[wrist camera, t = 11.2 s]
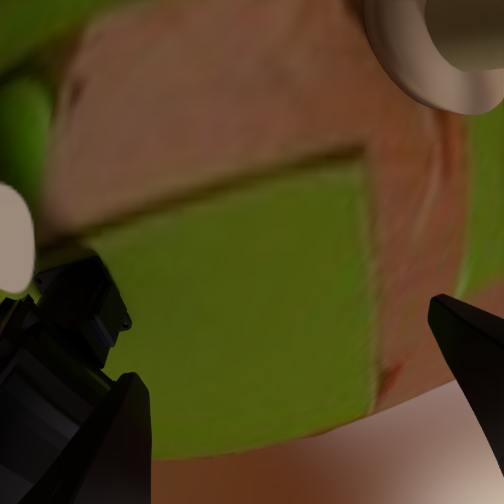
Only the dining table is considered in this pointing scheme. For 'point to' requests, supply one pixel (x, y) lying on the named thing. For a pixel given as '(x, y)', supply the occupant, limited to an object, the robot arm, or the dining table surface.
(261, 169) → the dining table surface
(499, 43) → the cork
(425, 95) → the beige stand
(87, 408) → the robot arm
